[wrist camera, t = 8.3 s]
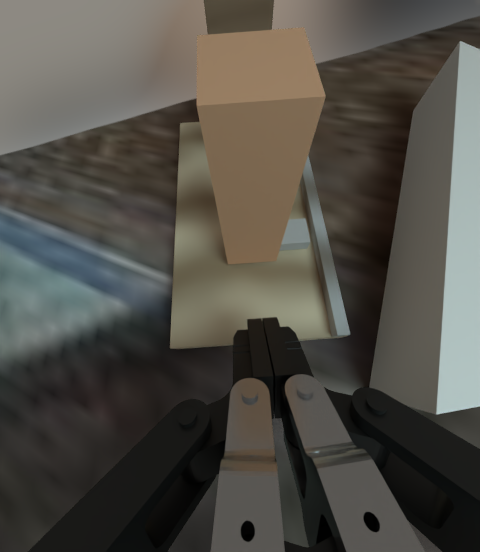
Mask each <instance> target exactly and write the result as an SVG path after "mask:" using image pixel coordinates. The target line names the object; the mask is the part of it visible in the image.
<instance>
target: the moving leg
mask: <svg viewBox="0 0 480 552" xmlns="http://www.w3.org/2000/svg"><path fill="white" fill-rule="evenodd" d="M325 97H326V96H325V93H324V89H323V86H322V83H321V80H320V77H319V74H318V70H317V67H316V64H315V61H314V58H313V54H312V51H311V48H310V45H309V42H308V39H307V35H306V32H305V29H304V27H303V28H291V29H276V30H263V31H249V32H236V33H223V34H209V35H198V36H197V110H198V115H199V120H200V125H201V130H202V135H203V140H204V145H205V150H206V156H207V161H208V166H209V171H210V176H211V181H212V186H213V191H214V196H215V201H216V206H217V211H218V216H219V221H220V226H221V232H222V237H223V242H224V247H225V252H226V257H227V262H228V264H242V263H257V262H271V261H276V260H277V257H278V254H279V251H281V250H295V249H307V248H308V246H309V244H310V237H309V232H308V227H307V222H306V218H304V219H290V220H289V217H290V214H291V210H292V207H293V204H294V200H295V197H296V194H297V190H298V187H299V184H300V180H301V177H302V174H303V170H304V167H305V164H306V160H307V157H308V154H309V150H310V147H311V144H312V140H313V137H314V134H315V130H316V127H317V124H318V120H319V117H320V114H321V110H322V107H323V104H324V100H325Z"/></svg>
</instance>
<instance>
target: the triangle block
mask: <svg viewBox="0 0 480 552" xmlns="http://www.w3.org/2000/svg"><path fill="white" fill-rule="evenodd" d="M369 388H374V389H377V390H380V391H382V392H384V393H385V394H387V395H389V396H390V397H392V398H394V399H396V400H397V401H399V402H401V403H402V404H404V405H406V406H409V407H413V408H416V409H420V410H423V411H426V412H430V413H433V414H441V413H446V412H452V411H457V410H462V409H468V408H473V407H478V406H480V50H479V49H477V48H475V47H473V46H470V45H468V44H466V43H464V42H461V41H460V42H459V43H458V45H457V46H456V48H455V49H454V51H453V52H452V54H451V55H450V57H449V58H448V60H447V61H446V63H445V64H444V66H443V67H442V69H441V70H440V72H439V73H438V75H437V76H436V78H435V79H434V81H433V82H432V84H431V85H430V87H429V88H428V90H427V91H426V93H425V94H424V95H423V97H422V98H421V100H420V101H419V103H418V104H417V106H416V107H415V109H414V110H413V115H412V121H411V128H410V134H409V140H408V147H407V153H406V159H405V165H404V172H403V178H402V184H401V190H400V197H399V203H398V209H397V216H396V222H395V228H394V234H393V241H392V247H391V253H390V259H389V266H388V272H387V278H386V285H385V291H384V297H383V303H382V310H381V316H380V322H379V328H378V335H377V341H376V347H375V353H374V360H373V366H372V372H371V378H370V385H369Z"/></svg>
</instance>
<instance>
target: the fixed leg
mask: <svg viewBox="0 0 480 552" xmlns="http://www.w3.org/2000/svg"><path fill="white" fill-rule="evenodd" d="M273 4H274V0H204V5H205V14H206V23H207V31H208V35H209V34H223V33H236V32H249V31H263V30H272V18H273Z"/></svg>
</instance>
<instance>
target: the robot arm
mask: <svg viewBox="0 0 480 552" xmlns="http://www.w3.org/2000/svg"><path fill="white" fill-rule="evenodd" d="M247 327H248V329H246V330H237V332H236V333H235V335H234V337H233V385H232V388H231V390H230V392H229V393H228V394H227V395H226V396H225V397H224V398H222V399H221V400H219V401H216V402H214V403H211V404H209V405H206V404H205V403H204V402H202V401H200V400H196V399H190V400H186V401H183V402H181V403H180V404H178V405H177V406H176V407H174V408H173V409H172V410H171V411H170V412H169V413H168V414H167V415H166V416H165V417H164V418H163V419H162V420H161V421H160V422H159V423H158V424H157V425H156V426H155V427H154V428H153V429H152V430H151V431H150V432H149V433H148V434H147V435H146V436H145V437H144V438H143V439H142V440H141V441H140V442H139V443H138V444H137V445H136V446H135V447H134V448H133V449H132V450H131V451H130V452H129V453H128V454H127V455H126V456H125V457H124V458H123V459H122V460H121V461H120V462H119V463H118V464H117V465H116V466H115V467H113V468H112V469H111V470H110V471H109V472H108V473H107V474H106V475H105V476H104V477H103V478H102V479H101V480H100V481H99V482H98V483H97V484H96V485H95V486H94V487H93V488H92V489H91V490H90V491H89V492H88V493H87V494H86V495H85V496H84V497H83V498H82V499H81V500H80V501H79V502H78V503H77V504H76V505H75V506H74V507H73V508H72V509H71V510H70V511H69V512H68V513H67V514H66V515H65V516H64V517H63V518H62V519H61V520H60V521H59V522H58V523H57V524H56V525H55V526H54V527H53V528H52V529H51V530H50V531H49V532H47V533H46V534H45V535H44V536H43V537H42V538H41V539H40V540H39V541H38V542H37V543H36V544H35V545H34V546H33V547H32V548H31V549H30V550H29V551H28V552H167V551H168V549H169V548H170V546H171V545H172V543H173V542H174V540H175V539H176V537H177V536H178V534H179V533H180V531H181V530H182V528H183V527H184V525H185V523H186V522H187V520H188V519H189V517H190V516H191V514H192V513H193V511H194V510H195V508H196V507H197V505H198V504H199V502H200V501H201V499H202V498H203V496H204V495H205V493H206V491H207V490H208V488H209V487H210V485H211V484H212V482H213V481H214V479H215V477H216V475H217V474H219V479H218V489H217V498H216V508H215V517H214V526H213V536H212V545H211V552H425V551H424V549H423V547H422V546H421V544H420V542H419V540H418V539H417V537H416V535H415V533H414V531H413V530H412V528H411V526H410V524H409V523H408V521H409V522H410V523H411V524H412V525H414V526H415V527H416V528H417V529H418V530H419V531H420V532H421V533H422V534H423V535H425V536H426V537H427V538H428V539H429V540H430V541H431V542H432V543H433V544H435V545H436V546H437V547H438V548H439V549H440V550H441V551H442V552H480V449H479V448H477V447H475V446H473V445H472V444H470V443H468V442H467V441H465V440H463V439H462V438H460V437H458V436H457V435H455V434H453V433H451V432H450V431H448V430H446V429H445V428H443V427H441V426H440V425H438V424H436V423H435V422H433V421H431V420H429V419H428V418H426V417H424V416H423V415H421V414H419V413H418V412H416V411H414V410H412V409H411V408H409V407H407V406H406V405H404V404H402V403H401V402H399V401H397V400H396V399H394V398H392V397H390V396H389V395H387V394H385V393H384V392H382V391H380V390H377V389H374V388H369V387H364V388H359V389H357V390H356V391H355V392H354V393H353V396H351V395H347V394H342V393H337V392H334V391H331V390H328V389H326V388H325V387H323V385H322V384H321V383H320V382H319V381H318V380H317V379H315V378H314V376H313V374H312V372H311V369H310V367H309V364H308V362H307V360H306V357H305V355H304V352H303V350H302V347H301V345H300V342H299V340H298V338H297V335H296V333H295V332H294V331H293V330H292V329H291V328H290V327H289V326H287V327H280V325H279V321H278V318H277V317H269V318H262V319H261V318H256V319H247ZM274 414H275V418H282V422H283V427H284V442H285V446H286V449H287V453H288V457H289V461H290V464H291V468H292V472H293V476H294V479H295V483H296V487H297V491H298V494H299V498H300V502H301V507H302V513H303V521H304V527H305V532H306V536H307V540H308V544H309V547H308V548H306V547H302V546H299V545H295V544H292V543H289V542H286V541H284V537H283V526H282V515H281V504H280V493H279V482H278V472H277V463H276V459H275V451H274V439H273V428H272V419H274ZM407 520H408V521H407Z"/></svg>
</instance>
